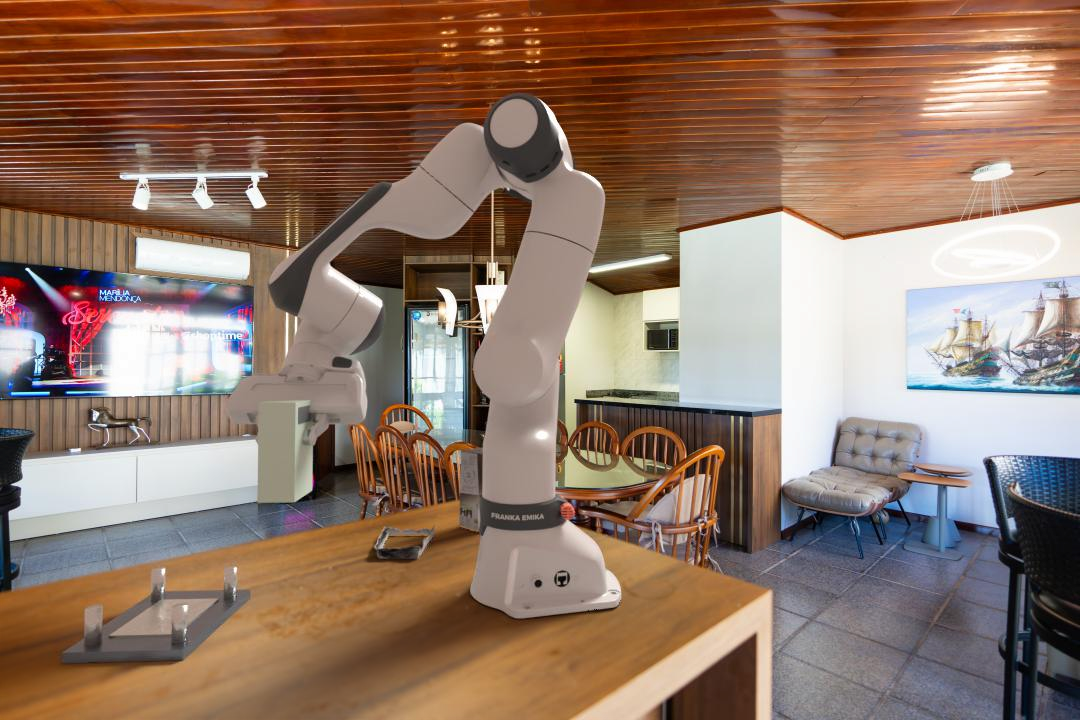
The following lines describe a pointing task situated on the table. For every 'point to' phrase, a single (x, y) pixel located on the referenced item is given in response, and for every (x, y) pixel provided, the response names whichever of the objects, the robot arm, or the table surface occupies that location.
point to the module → (284, 450)
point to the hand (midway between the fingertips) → (285, 443)
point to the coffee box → (470, 487)
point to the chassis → (158, 623)
